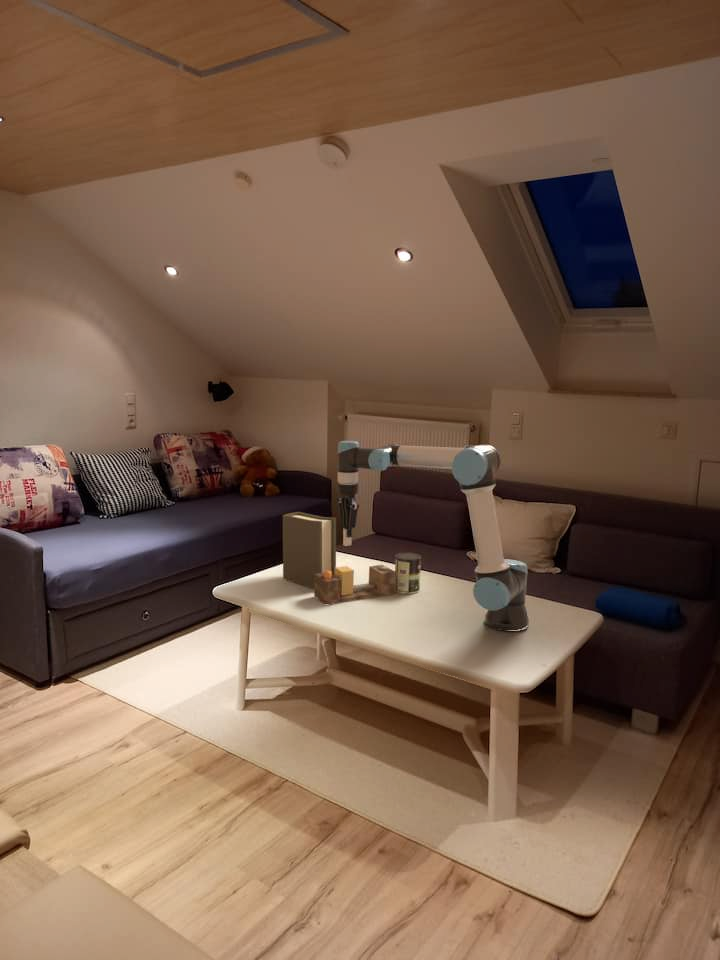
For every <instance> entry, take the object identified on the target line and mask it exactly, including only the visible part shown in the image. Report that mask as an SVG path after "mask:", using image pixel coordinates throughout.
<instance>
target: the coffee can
mask: <svg viewBox="0 0 720 960" xmlns="http://www.w3.org/2000/svg"><path fill="white" fill-rule="evenodd" d="M394 558H395V563H394V567H395V568H394V571H395V592H396V593H399V594H403V595H413V594H414V595H415V594H417V593H419V592H420V589H421V588H420V587H421V586H420V585H421V584H420V583H421V565H422V564H421V563H422V556H421V554H419V553H414V552H398V553H396V554H395V557H394Z"/></svg>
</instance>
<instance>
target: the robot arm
mask: <svg viewBox="0 0 720 960" xmlns="http://www.w3.org/2000/svg"><path fill="white" fill-rule="evenodd" d="M389 466H396V467H399V466H400V467H401V466H402V467H403V466H404V467H417V468H419V467H420V468H433V469H434V468H435V469H436V468H437V469H450V470H451V471H452V475H453V477H454V479H455V480H456V481H457V482H458V483H459V488H460V491H461V492H462V493H463V494H465V495H466V501H467V505H468V506H467V507H468V512H469V518H470V523H471V524H470V525H471V529H472V536H473V542H474V547H475V553H476V559H477V566H476V567H475V569H474V574H475V580H476V582H475V583H474V585H473V589H472V593H473V597H474V600H475V601H476V603H477V604H478V605H479V606H481V607H482V608H483V609H485V610H487V612H486V613H485V616H484V623H485V625H487V626H488V627H489V626H490V627H489V628H491V627H492V628H491V629H494V628H495V629H494V630H497V629H499V630H498V631H501V630H518V629H522V628H524V627H526V626H527V625H528V626H529V621H530V620H529V617H528V612H527V608H526V607H527V606H526V594H527V584H528V583H527V581H528V580H527V579H528V573H529V572H528V565H527V564H526V562H523V561H520V560H515V559H510V558H509V559H508V558H504V552H503V547H502V540H501V536H500V529H499V521H498V517H497V513H496V504H495V498H494V494H493V490H494V488H495V487H496V485H497V484H496V483H497V482H496V477H495V475H496V474H497V473H498V472H499V471H500V469H501V466H502V456H501V454H500V453H499V451H498V449H496V447H494V446H492V445H489V444H486V443H483V444H477V445H475V444H474V445H469V444H467V445H466V446H464V447H446V446H445V447H444V446H423V445H422V446H421V445H418V446H417V445H399V444H395V443H390V444H386V445H383V446H377V447H371V448H370V447H369V448H368V447H360V445H359V442H358V441H357V440H356V441H355V440H342V441H339V442H338V445H337V493H338V494H339V495H340V497H339V498H336V502H337V507H338V518H339V525H340V526H342V528H343V531H342V536H343V537H342V538H343V540H342V545H343V546H345V547H347V546H352V541H353V539H352V536H353V535H352V533H353V531H352V530H353V529H354V528H355V529H356V524H357V515H358V510H359V507H360V504H359V503H357V502H356V495H357V494H358V493H359V484H358V482H359V475H360V474H359V469H365V470H373V471H376V472H377V471H386V470H387V468H388V467H389ZM500 629H501V630H500Z"/></svg>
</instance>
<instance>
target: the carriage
mask: <svg viewBox="0 0 720 960" xmlns="http://www.w3.org/2000/svg"><path fill="white" fill-rule="evenodd" d="M354 574H355V570H354V569H352V568H351V567H349V566H348V565H344V566H336V567H335V576H336V577H337V578H339V579H340V580H341V588H340V595H341V596H344V595H350V594H353V586H354V582H355V581H354V576H355V575H354Z"/></svg>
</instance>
